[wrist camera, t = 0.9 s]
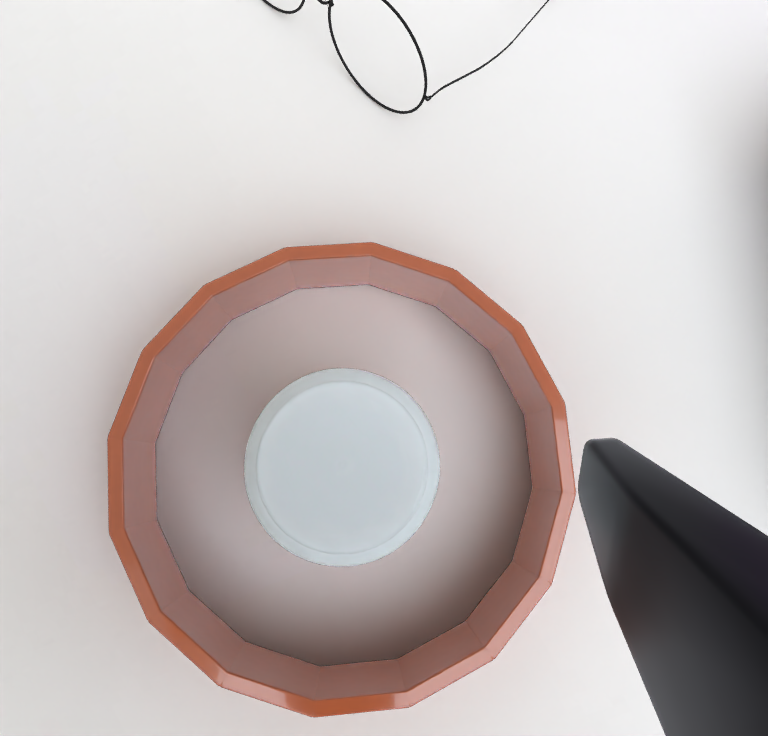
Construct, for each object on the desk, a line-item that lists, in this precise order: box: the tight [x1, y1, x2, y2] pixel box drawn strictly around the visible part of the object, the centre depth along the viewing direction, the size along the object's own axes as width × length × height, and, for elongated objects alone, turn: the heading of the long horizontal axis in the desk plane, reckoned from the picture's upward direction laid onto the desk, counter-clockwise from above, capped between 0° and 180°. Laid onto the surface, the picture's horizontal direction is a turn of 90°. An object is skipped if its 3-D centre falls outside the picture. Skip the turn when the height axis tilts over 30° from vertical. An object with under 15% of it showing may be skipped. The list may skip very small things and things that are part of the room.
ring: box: [107, 242, 576, 717], centre depth 22 cm, size 15×15×4 cm
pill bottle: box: [244, 368, 440, 567], centre depth 19 cm, size 5×5×10 cm
